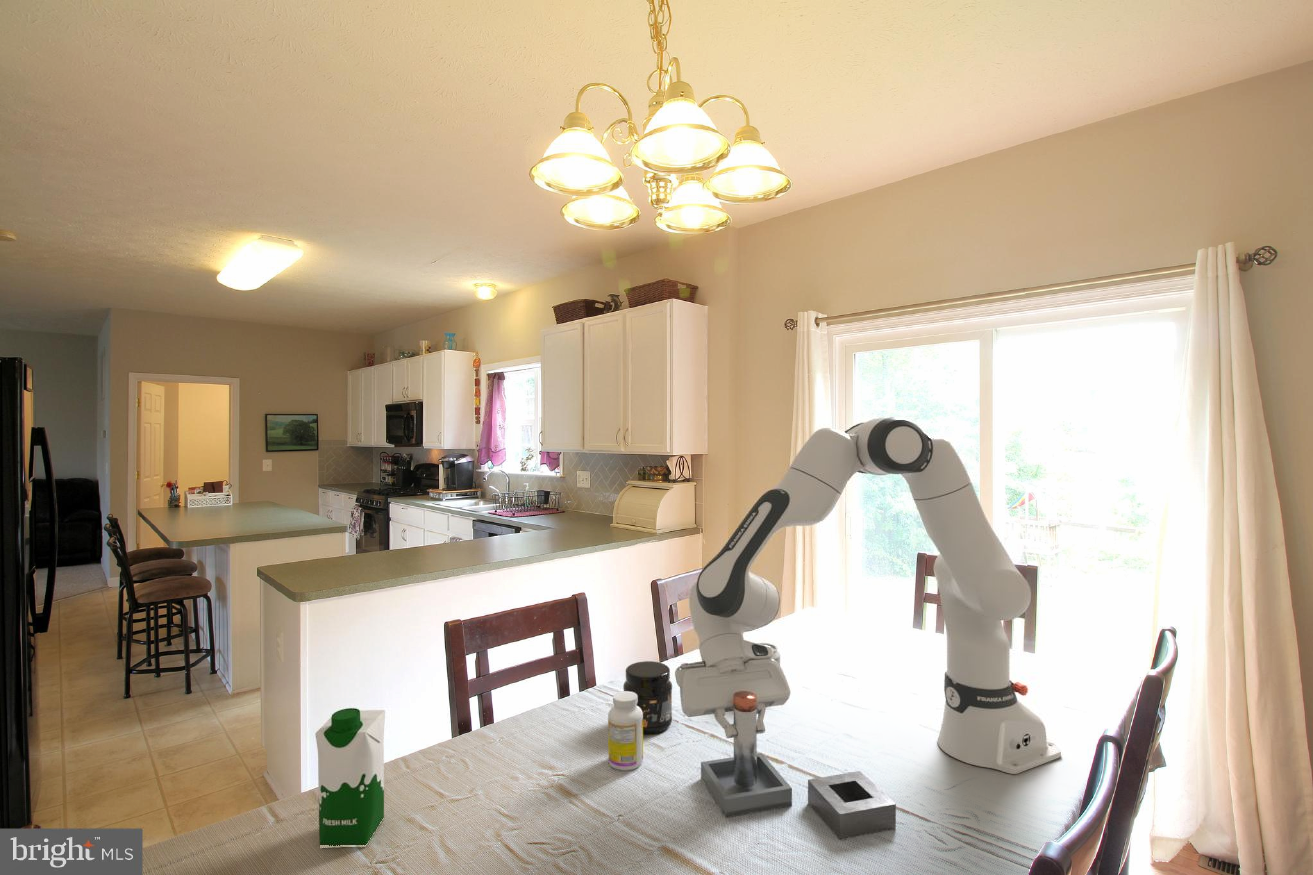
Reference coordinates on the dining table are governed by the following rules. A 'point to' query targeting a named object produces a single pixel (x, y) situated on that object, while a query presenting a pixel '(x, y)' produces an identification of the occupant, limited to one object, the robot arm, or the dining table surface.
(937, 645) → the dining table surface
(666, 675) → the supplement container
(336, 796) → the milk carton
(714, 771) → the tray
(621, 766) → the supplement bottle
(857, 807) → the socket
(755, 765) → the pin
